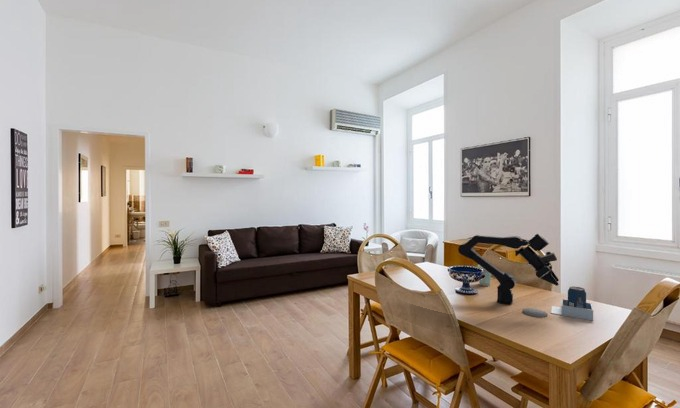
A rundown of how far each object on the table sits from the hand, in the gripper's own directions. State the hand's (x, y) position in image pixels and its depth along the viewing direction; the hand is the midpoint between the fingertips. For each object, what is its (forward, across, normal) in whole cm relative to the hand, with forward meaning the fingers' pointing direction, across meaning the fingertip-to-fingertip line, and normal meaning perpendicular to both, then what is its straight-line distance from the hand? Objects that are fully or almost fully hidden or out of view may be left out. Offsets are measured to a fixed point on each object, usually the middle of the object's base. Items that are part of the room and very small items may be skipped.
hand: (558, 283), depth 155 cm
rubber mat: (+3, -10, +16) cm, 19 cm away
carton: (+13, +2, +6) cm, 15 cm away
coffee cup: (-17, +30, +36) cm, 50 cm away
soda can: (+15, 0, +4) cm, 15 cm away
